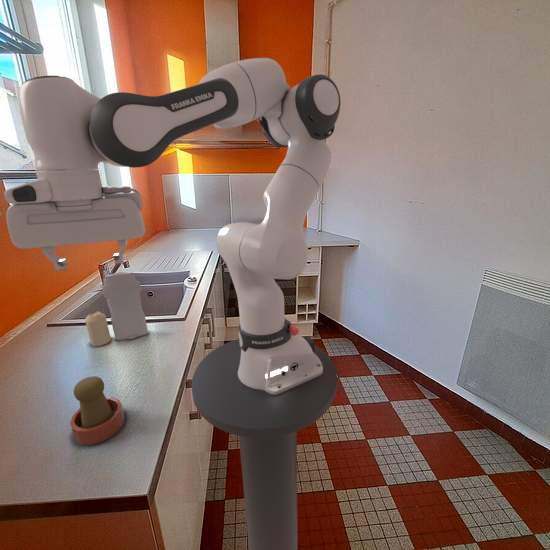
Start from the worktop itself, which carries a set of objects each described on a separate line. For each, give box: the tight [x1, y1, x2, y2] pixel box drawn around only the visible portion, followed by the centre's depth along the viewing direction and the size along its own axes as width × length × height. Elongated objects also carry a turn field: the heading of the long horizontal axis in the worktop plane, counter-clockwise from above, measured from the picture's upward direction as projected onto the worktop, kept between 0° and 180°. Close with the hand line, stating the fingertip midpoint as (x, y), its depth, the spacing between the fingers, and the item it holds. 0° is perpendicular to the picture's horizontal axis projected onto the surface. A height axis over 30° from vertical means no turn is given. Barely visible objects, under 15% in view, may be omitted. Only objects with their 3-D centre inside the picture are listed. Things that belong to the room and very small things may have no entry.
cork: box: [73, 375, 114, 429], centre depth 61 cm, size 6×6×11 cm
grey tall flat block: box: [101, 271, 149, 341], centre depth 95 cm, size 11×4×22 cm, turn 111°
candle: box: [84, 311, 112, 347], centre depth 94 cm, size 6×6×10 cm
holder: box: [69, 396, 125, 446], centre depth 63 cm, size 9×9×4 cm
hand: (92, 266), depth 55 cm, fingers open, 8 cm apart
